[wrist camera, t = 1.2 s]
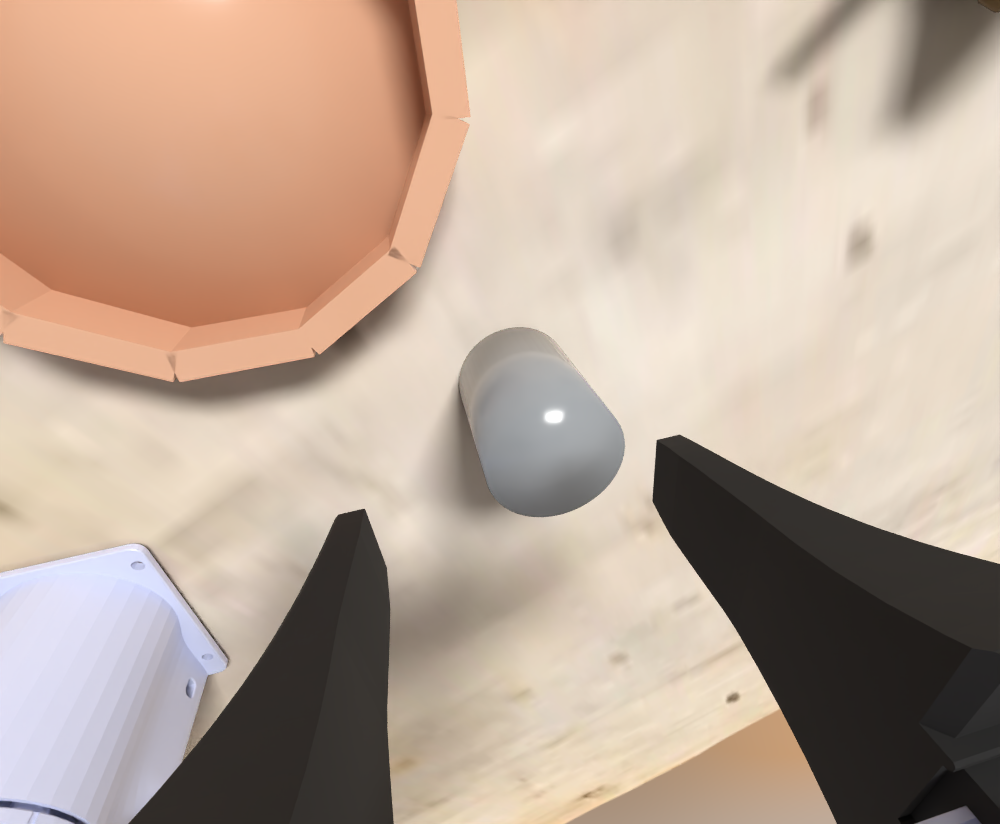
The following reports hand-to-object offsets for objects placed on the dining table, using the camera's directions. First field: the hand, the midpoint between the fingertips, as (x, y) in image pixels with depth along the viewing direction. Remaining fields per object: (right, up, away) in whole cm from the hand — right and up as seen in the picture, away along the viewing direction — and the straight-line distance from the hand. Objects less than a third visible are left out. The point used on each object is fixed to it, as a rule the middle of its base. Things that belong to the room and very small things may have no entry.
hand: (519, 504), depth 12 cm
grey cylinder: (0, +4, +9) cm, 10 cm away
